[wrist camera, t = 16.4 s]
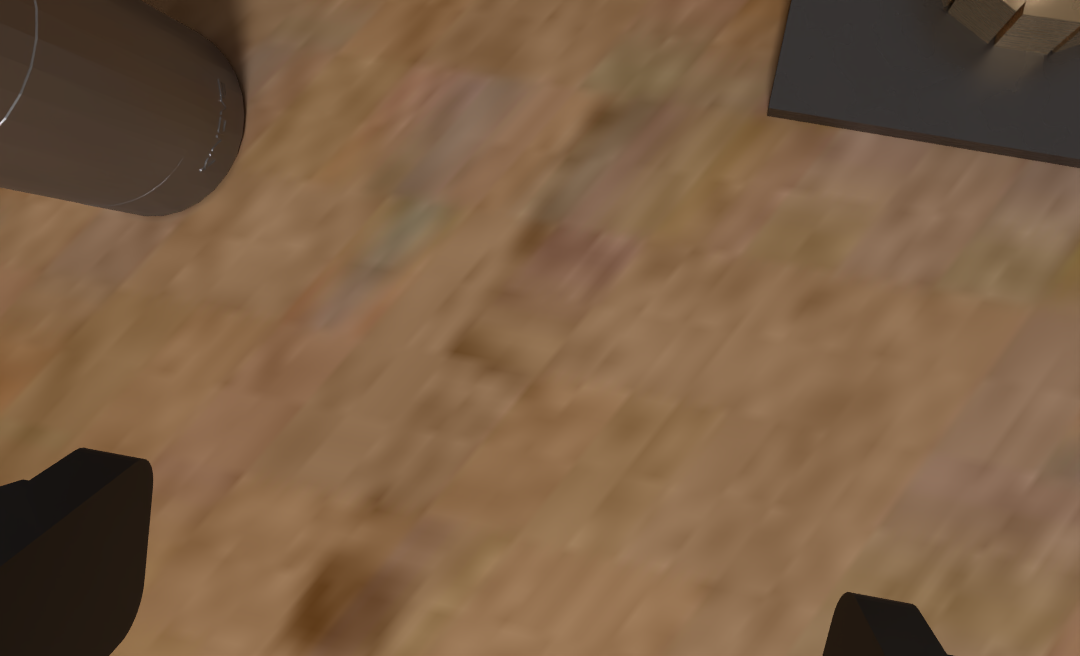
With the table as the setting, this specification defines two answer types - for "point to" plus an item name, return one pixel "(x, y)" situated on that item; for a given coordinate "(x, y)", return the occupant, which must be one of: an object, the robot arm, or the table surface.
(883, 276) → the table surface
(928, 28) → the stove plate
